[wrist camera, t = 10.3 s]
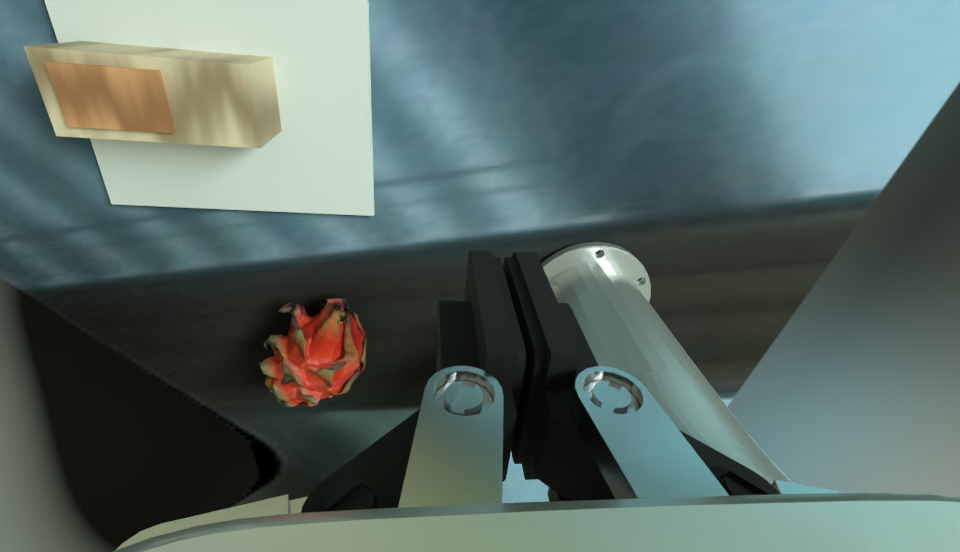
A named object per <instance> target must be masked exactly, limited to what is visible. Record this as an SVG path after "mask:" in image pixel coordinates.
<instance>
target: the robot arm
mask: <svg viewBox="0 0 960 552" xmlns="http://www.w3.org/2000/svg"><path fill="white" fill-rule="evenodd" d="M596 251H597V252H596ZM650 296H651V284H650V280H649V276H648V274H647V272H646V270H645V268H644V266H643V265H642V264H641V263H640V261H639V260H638V259H637V258H636V257H635V256H634V255H633V254H631V253H630V252H629V251H627V250H626V249H624V248H622V247H620V246H617V245H614V244H610V243H604V242H587V243H580V244H576V245H573V246H569V247H567V248H565V249H562V250H560V251H558V252H556V253H555V254H553V255H552V256H550V257H549V258H547V259H546V260H545V261H544V262H542V263H541V262H540V260H539V258H538V255H537V254H536V253H530V252H514V253H513V255H512V257H506V258H505V260H504V267H502V263H501V260H500V257H493V254H492V251H474V250H469V254H468V265H467V276H466V288H465V300H464V301H449V300H439V301H438V313H437V335H436V373H435V374H434V375H433V376H432V377H431V378H430V379H429V380H428V383H427V385H426V387H425V390H424V395H423V399H422V404H421V408H420V409H419V410H418V411H417V412H415V413H414V414H413V415H411V416H410V417H409V418H407V419H406V420H405V421H403V422H402V423H400V424H399V425H398V426H396V427H395V428H394V429H392V430H391V431H390V432H388V433H387V434H386V435H384V436H383V437H382V438H380V439H379V440H378V441H376V442H375V443H373V444H372V445H371V446H369V447H368V448H367V449H365V450H364V451H363V452H361V453H360V454H359V455H357V456H356V457H355V458H353V459H352V460H351V461H349V462H348V463H346V464H345V465H344V466H342V467H341V468H340V469H338V470H337V471H336V472H334V473H333V474H332V475H330V476H329V477H328V478H326V479H325V480H324V481H322V482H321V483H320V484H319V485H318V486H317V487H316V488H315V489H314V490H313V491H312V492H311V493H310V494H309V496H308V497H303V498H299V499H295V500H291V501H289V497H288V494H287V495H283V496H279V497H274V498H270V499H266V500H261V501H257V502H253V503H248V504H244V505H240V506H235V507H231V508H227V509H223V510H218V511H214V512H210V513H205V514H201V515H197V516H193V517H188V518H184V519H179V520H176V521H171V522H167V523H162V524H159V525H156V526H153V527H151V528H148V529H145V530H143V531H140V532H139V533H138V534H136V535H134V536H133V537H131V538H130V539H129V540H127V541H125V542H124V543H123V544H121V545H120V546H119V548H117V550H116V551H113V552H960V498H959V497H950V496H941V495H931V494H901V493H846V492H841V491H835V490H829V489H824V488H818V487H813V486H807V485H802V484H796V483H793V482H792V481H791V480H790V479H789V478H788V477H787V476H786V475H785V474H784V473H783V472H782V471H781V470H780V469H779V468H778V467H777V466H776V465H775V464H774V463H773V462H772V461H771V459H770V458H769V457H768V456H767V455H766V454H765V453H764V452H763V451H762V449H761V448H760V447H759V446H758V445H757V444H756V442H755V441H754V440H753V439H752V438H751V436H750V435H749V434H748V433H747V432H746V431H745V429H744V428H743V427H742V426H741V424H740V423H739V422H738V420H737V419H736V418H735V417H734V415H733V414H732V413H731V412H730V410H729V409H728V408H727V406H726V405H725V404H724V402H723V401H722V400H721V398H720V397H719V396H718V394H717V393H716V392H715V390H714V389H713V388H712V386H711V385H710V384H709V383H708V381H707V380H706V379H705V377H704V376H703V375H702V373H701V372H700V371H699V369H698V368H697V367H696V365H695V364H694V363H693V361H692V360H691V359H690V357H689V356H688V354H687V353H686V352H685V350H684V349H683V348H682V346H681V345H680V344H679V342H678V341H677V340H676V338H675V337H674V336H673V334H672V333H671V332H670V330H669V329H668V328H667V326H666V325H665V324H664V322H663V321H662V320H661V318H660V317H659V316H658V314H657V313H656V312H655V310H654V309H653V308H652V306H651V305H650V304H649V301H650ZM511 451H512V457H513V461H514V463H515V464H522V467H523V472H524V477H525V480H528V479H539V480H540V481H542V482H543V483H544V484H546V485H547V486H548V497H549V502H527V503H502V482H503V481H504V480H505V479H506V475H507V469H508V463H509V458H510V452H511Z"/></svg>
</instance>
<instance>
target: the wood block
mask: <svg viewBox="0 0 960 552" xmlns="http://www.w3.org/2000/svg"><path fill="white" fill-rule="evenodd" d="M24 49H25V51H26V54H27V57H28V60H29V62H30V65H31V68H32V71H33V73H34V76H35V79H36V82H37V84H38V87H39V90H40V93H41V95H42V98H43V101H44V104H45V106H46V109H47V112H48V114H49V117H50V120H51V123H52V125H53V128H54V131H55V134H56V136H62V137H79V138H95V139H112V140H128V141H145V142H161V143H178V144H194V145H211V146H228V147H244V148H262V147H263V146H264V145H265V144H266V143H268V142H269V141H270V140H271V139H273V138H274V137H275V136H276V135H277V134H279V133H280V132H281V131H282V129H281V121H280V113H279V105H278V97H277V88H276V80H275V72H274V64H273V57H266V56H255V55H243V54H231V53H219V52H207V51H195V50H184V49H172V48H160V47H148V46H136V45H125V44H113V43H101V42H89V41H75V42H64V43H53V44H42V45H31V46H24Z"/></svg>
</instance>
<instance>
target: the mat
mask: <svg viewBox="0 0 960 552" xmlns="http://www.w3.org/2000/svg"><path fill="white" fill-rule="evenodd" d="M44 1H45V4H46V7H47V10H48V13H49V16H50V19H51V22H52V25H53V28H54V31H55V34H56V37H57V40H58V43H64V42H75V41H89V42H101V43H113V44H125V45H136V46H148V47H160V48H172V49H184V50H195V51H207V52H219V53H231V54H243V55H255V56H266V57H273V64H274V72H275V80H276V88H277V97H278V105H279V113H280V121H281V129H282V131H281V132H280V133H279V134H277V135H276V136H275V137H274V138H273V139H271V140H270V141H269V142H268V143H266V144H265V145H264V146H263V147H262V148H244V147H228V146H211V145H194V144H178V143H161V142H145V141H128V140H112V139H95V138H90V140H91V143H92V146H93V149H94V152H95V156H96V159H97V162H98V165H99V168H100V171H101V174H102V177H103V180H104V183H105V186H106V189H107V192H108V195H109V198H110V201H111V204H116V205H139V206H161V207H184V208H207V209H229V210H252V211H275V212H297V213H320V214H343V215H365V216H374V178H373V143H372V108H371V72H370V37H369V2H368V0H44Z"/></svg>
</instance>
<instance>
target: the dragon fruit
mask: <svg viewBox="0 0 960 552" xmlns="http://www.w3.org/2000/svg"><path fill="white" fill-rule="evenodd" d="M344 306H345V308H346V310H347V311H346V310H345V312H344ZM321 308H323V309H321ZM319 309H321V311H320V313H319V314H316V315H315V316H313V317H310V316H309V315H308V314H307V313H306V311H305V308H304V306H303V305H302V306H300V305H298V304H295V303H288V304H286V305H284V306H282V308H280V309H279V312H283V313H286V312H290V313H291V314H292V315H293V317H292V318H291V324H290V329H289V334H288V336H284V335H271V336H270V337H269V338H268V340H266V341H264V347H265V349H266V350H268V348H269V345H271V347H272V349H273V350H274V354H275V356H273V357H269V358H267V359H265V360H264V361H262V362H260V368H261V370H262V372H263V373H264V374H265V375H267V377H266V379H265V385H266V386H267V387H268V388H269V389H270V391H271V393H272V394H273V395H275V398H277V400H278V402H281V400H283V403H284V404H285V407H294V406H296V405H298V404H299V403H300V404H302V405H304V406H307V407H311V406H315V405H317V404H318V402H319V400H321V399H324V398H331V397H332V396H333V395H340V394H344V393H347V392H348V391H349V389H350V386H351V384H352V383H353V381H354V380H355V379H356V378H357V377H358V375H359V374H360V373H361V372H362V371H363V370H364V368H365V361H366V360H365V355H366V353H365V351H366V341H367V331H366V329H365V330H364V331H363V328H362V325H361V323H360V321H359V319H358V315H357V313H356V311H355V310H354V309H353V308H352V307H350V306H349V304H348V302H347V301H346V300H345V298H343V299H342V298H334V299H325V303H324V304H322V305H321V306H320V308H319Z"/></svg>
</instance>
